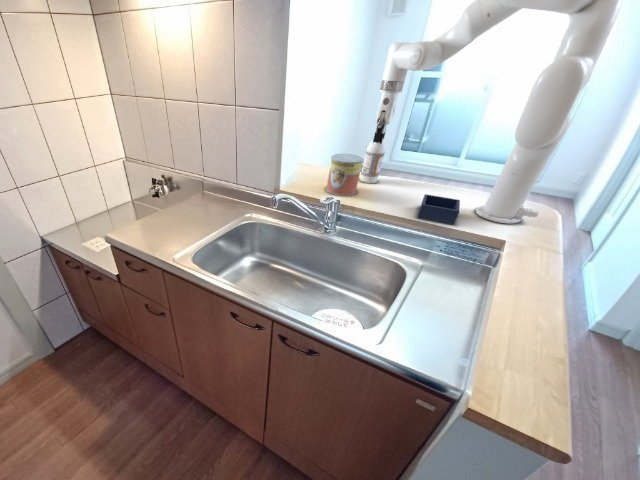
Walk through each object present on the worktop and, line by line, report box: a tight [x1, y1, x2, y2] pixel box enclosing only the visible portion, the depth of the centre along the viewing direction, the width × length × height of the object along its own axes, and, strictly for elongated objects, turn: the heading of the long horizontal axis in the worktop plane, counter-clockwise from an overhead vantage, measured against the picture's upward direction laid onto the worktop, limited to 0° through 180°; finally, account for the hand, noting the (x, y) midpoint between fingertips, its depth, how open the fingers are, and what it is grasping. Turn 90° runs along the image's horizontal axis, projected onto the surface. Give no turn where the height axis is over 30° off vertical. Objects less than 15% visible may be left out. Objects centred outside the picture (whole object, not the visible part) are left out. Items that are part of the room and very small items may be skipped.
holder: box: [416, 193, 461, 226], centre depth 106 cm, size 11×11×4 cm
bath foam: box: [359, 129, 386, 184], centre depth 128 cm, size 7×7×20 cm
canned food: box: [325, 153, 364, 197], centre depth 122 cm, size 11×11×12 cm
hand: (377, 142), depth 125 cm, fingers closed on bath foam, 2 cm apart
